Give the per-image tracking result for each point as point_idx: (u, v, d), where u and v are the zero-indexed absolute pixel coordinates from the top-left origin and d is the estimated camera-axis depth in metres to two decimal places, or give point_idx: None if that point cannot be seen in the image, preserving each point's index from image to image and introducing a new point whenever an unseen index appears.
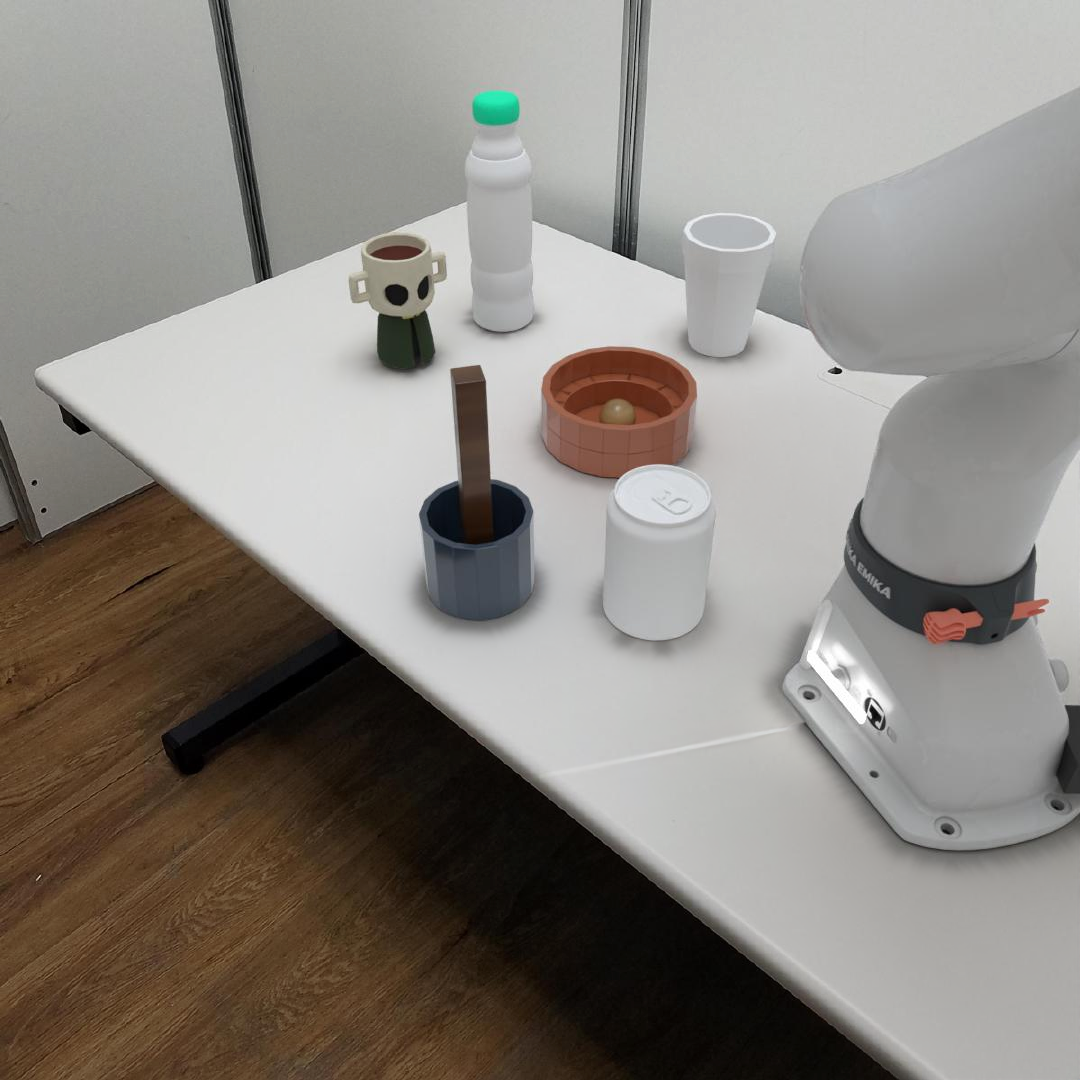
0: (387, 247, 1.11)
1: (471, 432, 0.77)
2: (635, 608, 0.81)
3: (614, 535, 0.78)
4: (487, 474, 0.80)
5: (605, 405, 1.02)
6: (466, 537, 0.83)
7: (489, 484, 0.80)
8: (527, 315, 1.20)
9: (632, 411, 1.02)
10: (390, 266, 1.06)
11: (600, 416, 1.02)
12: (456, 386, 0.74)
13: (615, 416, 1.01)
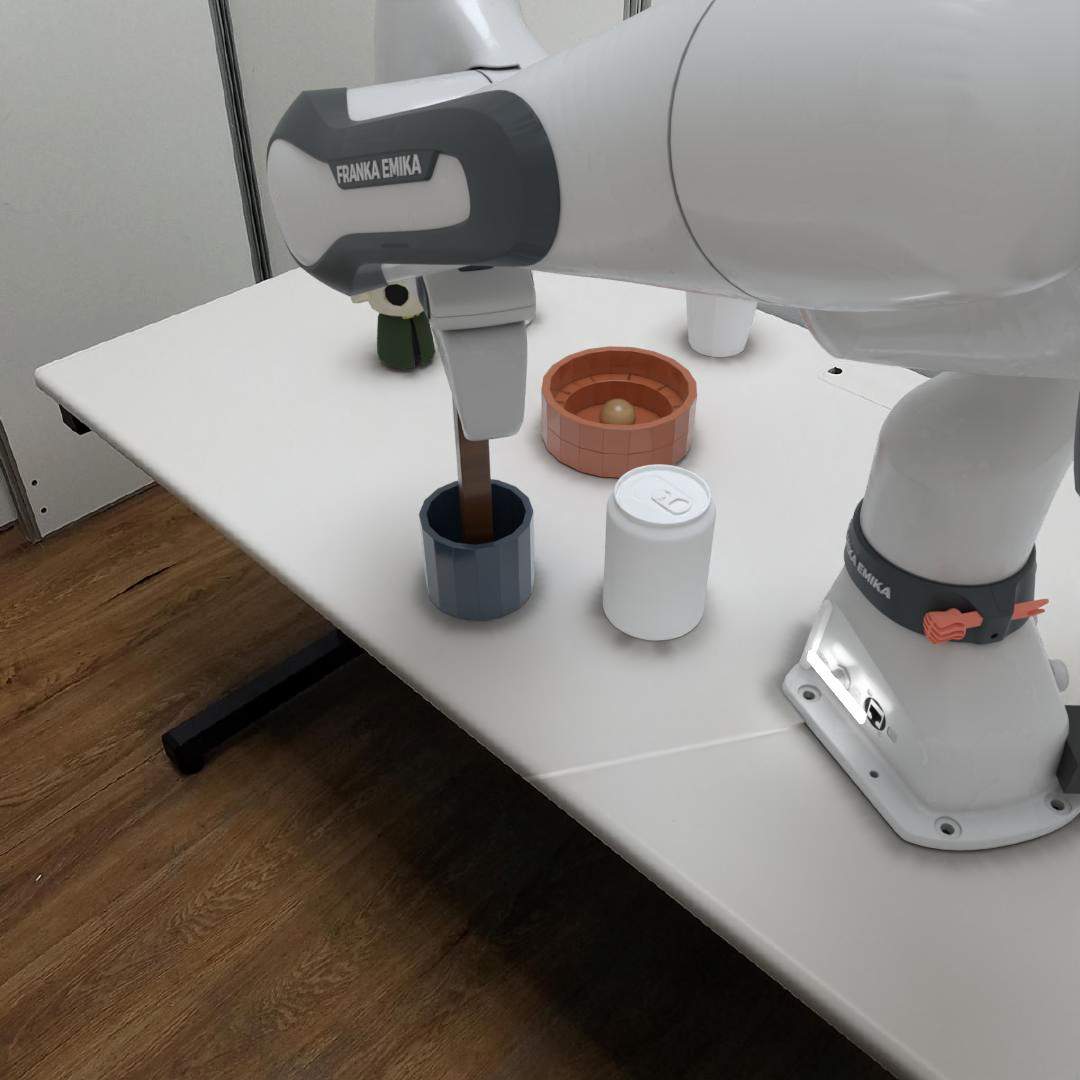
0: None
1: None
2: (635, 608, 0.81)
3: (614, 535, 0.78)
4: (487, 474, 0.80)
5: (605, 405, 1.02)
6: (466, 537, 0.83)
7: (489, 484, 0.80)
8: None
9: (632, 411, 1.02)
10: None
11: (600, 416, 1.02)
12: None
13: (615, 416, 1.01)
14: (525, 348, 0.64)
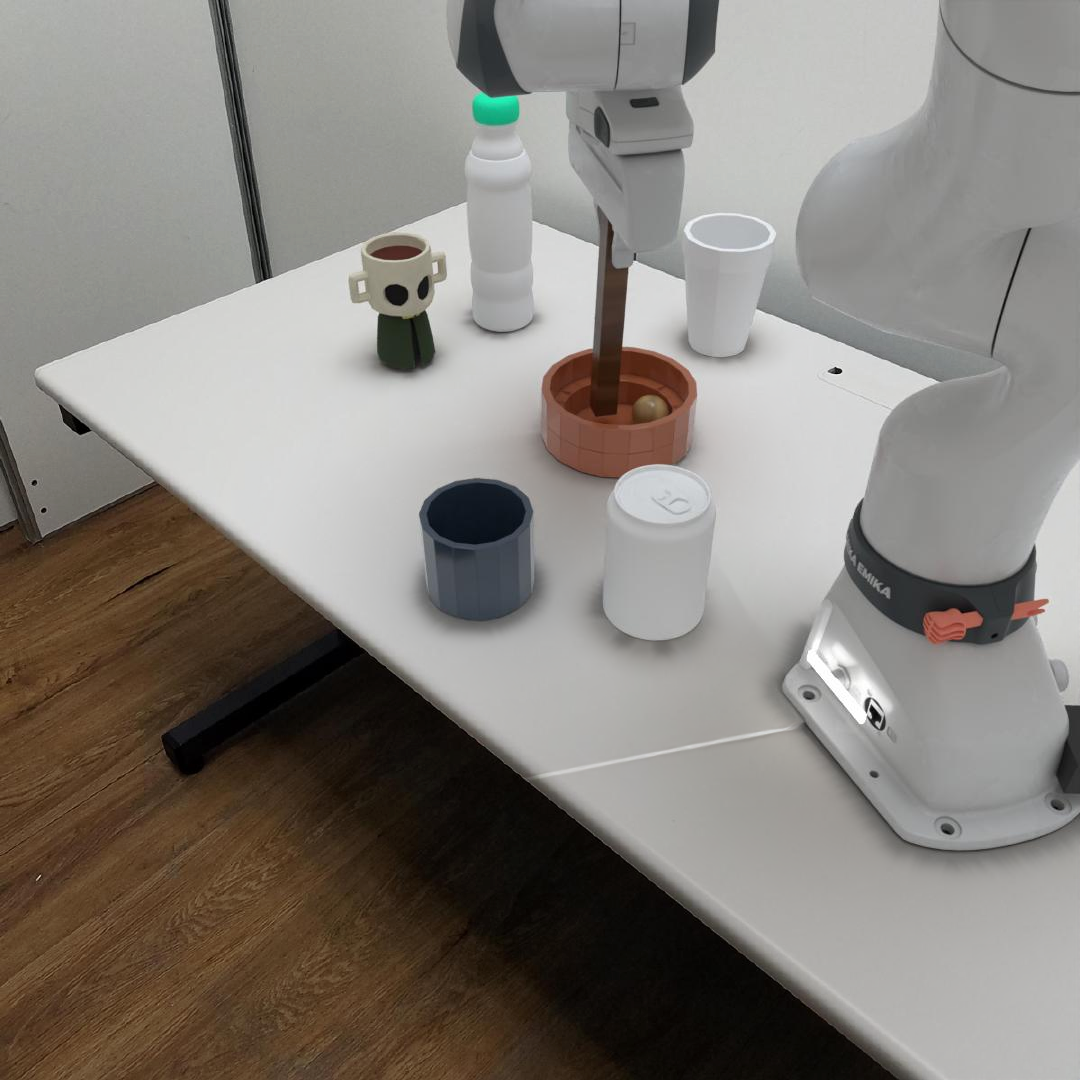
0: (387, 247, 1.11)
1: None
2: (635, 608, 0.81)
3: (614, 534, 0.78)
4: (623, 305, 0.96)
5: None
6: (599, 363, 0.99)
7: (623, 314, 0.96)
8: (527, 315, 1.20)
9: None
10: (390, 266, 1.06)
11: (659, 399, 1.02)
12: (609, 221, 0.90)
13: (665, 416, 1.02)
14: (683, 171, 0.80)
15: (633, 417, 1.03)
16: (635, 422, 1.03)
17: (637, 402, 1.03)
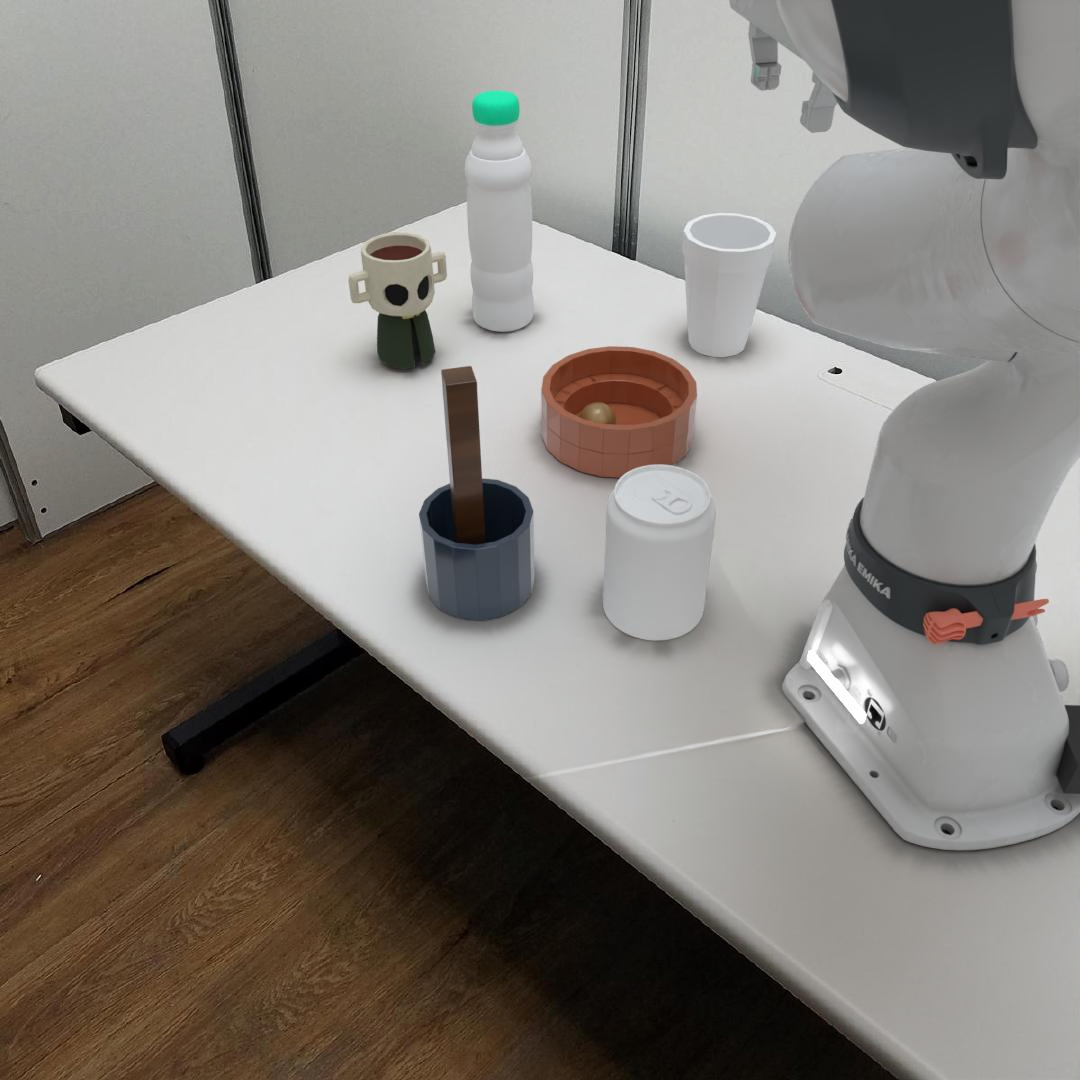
0: (387, 247, 1.11)
1: (462, 434, 0.77)
2: (635, 608, 0.81)
3: (614, 535, 0.78)
4: (479, 476, 0.80)
5: None
6: (458, 538, 0.83)
7: (481, 485, 0.80)
8: (527, 315, 1.20)
9: (595, 412, 1.01)
10: (390, 266, 1.06)
11: None
12: (447, 387, 0.74)
13: None
14: None
15: None
16: (615, 421, 1.02)
17: None
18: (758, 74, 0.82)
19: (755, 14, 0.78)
